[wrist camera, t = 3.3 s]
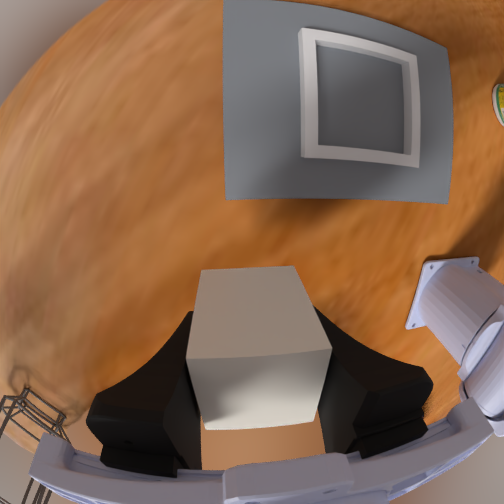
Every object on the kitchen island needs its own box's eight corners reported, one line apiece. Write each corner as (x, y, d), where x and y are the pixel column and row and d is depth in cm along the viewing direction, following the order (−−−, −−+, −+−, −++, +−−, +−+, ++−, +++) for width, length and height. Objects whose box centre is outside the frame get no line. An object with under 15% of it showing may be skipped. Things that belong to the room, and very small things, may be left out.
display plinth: (433, 51, 14) (454, 46, 12) (433, 198, 20) (455, 207, 17) (223, 11, 13) (223, -8, 10) (226, 194, 19) (225, 203, 16)
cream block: (293, 265, 13) (332, 348, 8) (288, 335, 15) (312, 421, 10) (201, 269, 13) (186, 358, 8) (210, 340, 15) (205, 429, 9)
